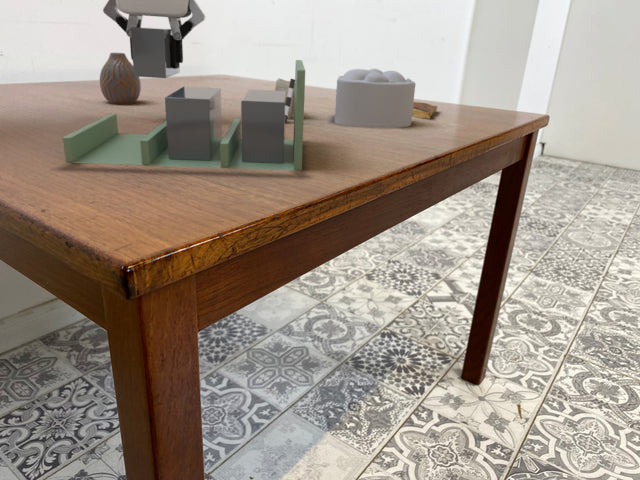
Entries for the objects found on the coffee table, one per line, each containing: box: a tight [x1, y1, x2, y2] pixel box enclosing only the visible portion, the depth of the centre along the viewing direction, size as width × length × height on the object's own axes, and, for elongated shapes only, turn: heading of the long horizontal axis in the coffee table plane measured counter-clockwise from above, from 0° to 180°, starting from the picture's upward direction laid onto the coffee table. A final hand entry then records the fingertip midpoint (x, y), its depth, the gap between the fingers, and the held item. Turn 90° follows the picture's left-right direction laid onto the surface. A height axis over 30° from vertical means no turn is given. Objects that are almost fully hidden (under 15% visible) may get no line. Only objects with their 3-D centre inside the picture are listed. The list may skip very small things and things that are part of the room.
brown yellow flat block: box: [412, 101, 438, 120], centre depth 100 cm, size 11×8×2 cm
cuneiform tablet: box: [273, 77, 306, 124], centre depth 89 cm, size 7×4×12 cm
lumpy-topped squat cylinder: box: [334, 68, 416, 129], centre depth 88 cm, size 10×13×9 cm
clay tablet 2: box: [240, 88, 286, 163], centre depth 60 cm, size 4×10×6 cm, turn 3°
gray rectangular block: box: [131, 26, 181, 79], centre depth 77 cm, size 4×10×6 cm, turn 3°
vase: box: [99, 52, 142, 105], centre depth 94 cm, size 7×7×9 cm
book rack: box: [62, 59, 306, 172], centre depth 59 cm, size 24×15×11 cm, turn 93°
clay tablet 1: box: [164, 86, 223, 161], centre depth 59 cm, size 4×10×6 cm, turn 3°
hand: (157, 65), depth 78 cm, fingers closed on gray rectangular block, 4 cm apart
